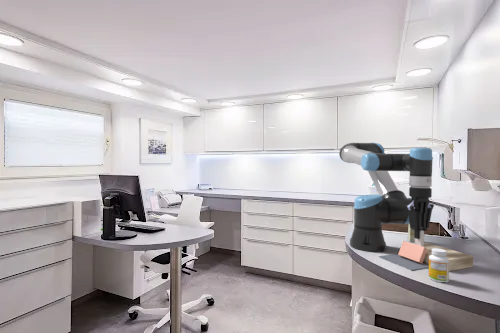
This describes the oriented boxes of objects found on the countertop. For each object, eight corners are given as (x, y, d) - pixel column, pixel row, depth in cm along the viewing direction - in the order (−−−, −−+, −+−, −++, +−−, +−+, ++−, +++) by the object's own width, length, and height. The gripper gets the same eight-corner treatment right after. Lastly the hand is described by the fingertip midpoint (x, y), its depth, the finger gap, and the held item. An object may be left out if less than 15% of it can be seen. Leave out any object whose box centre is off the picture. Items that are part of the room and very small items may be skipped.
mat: (378, 256, 110) (378, 256, 110) (398, 254, 114) (398, 253, 114) (412, 270, 96) (412, 269, 96) (433, 267, 100) (433, 266, 100)
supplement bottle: (434, 275, 93) (434, 246, 93) (452, 281, 88) (452, 251, 88) (425, 278, 90) (425, 248, 90) (443, 284, 85) (443, 253, 85)
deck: (402, 255, 113) (402, 245, 113) (426, 251, 117) (426, 242, 117) (446, 271, 96) (446, 260, 96) (473, 266, 101) (473, 256, 100)
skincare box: (409, 242, 132) (410, 217, 132) (407, 239, 136) (407, 215, 136) (424, 243, 130) (425, 217, 130) (422, 241, 134) (422, 216, 134)
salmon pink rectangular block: (401, 256, 110) (398, 254, 110) (406, 242, 111) (403, 240, 111) (422, 264, 102) (418, 262, 101) (427, 249, 103) (424, 247, 102)
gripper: (417, 188, 102) (416, 251, 102) (441, 187, 106) (439, 247, 107) (399, 186, 109) (398, 245, 109) (422, 185, 113) (421, 242, 114)
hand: (419, 246), depth 108 cm, fingers closed
